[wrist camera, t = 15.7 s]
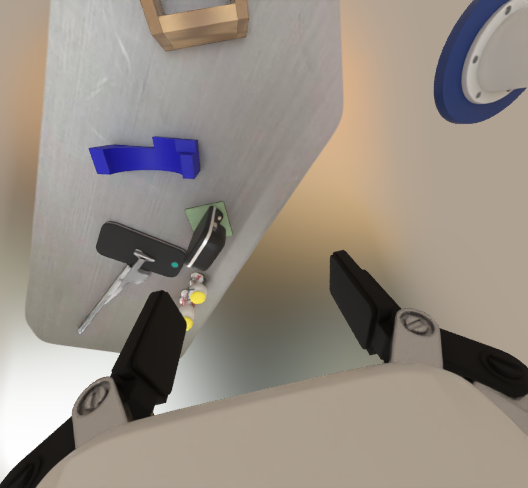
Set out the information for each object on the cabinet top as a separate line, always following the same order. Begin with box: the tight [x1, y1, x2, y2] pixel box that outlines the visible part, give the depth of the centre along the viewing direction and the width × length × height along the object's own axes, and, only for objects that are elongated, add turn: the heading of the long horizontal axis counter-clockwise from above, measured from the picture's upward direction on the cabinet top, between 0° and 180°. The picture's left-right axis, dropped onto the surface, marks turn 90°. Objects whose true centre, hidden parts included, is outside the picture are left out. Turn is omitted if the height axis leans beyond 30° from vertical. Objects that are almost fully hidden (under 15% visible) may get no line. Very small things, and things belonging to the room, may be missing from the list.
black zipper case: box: [183, 205, 226, 271], centre depth 31 cm, size 7×4×11 cm, turn 143°
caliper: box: [77, 249, 155, 333], centre depth 42 cm, size 29×2×5 cm
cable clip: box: [89, 137, 200, 179], centre depth 27 cm, size 12×4×6 cm, turn 85°
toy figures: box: [179, 272, 207, 331], centre depth 41 cm, size 12×4×8 cm, turn 149°
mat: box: [185, 201, 233, 237], centre depth 37 cm, size 7×7×1 cm
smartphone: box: [96, 222, 186, 277], centre depth 37 cm, size 8×1×15 cm
